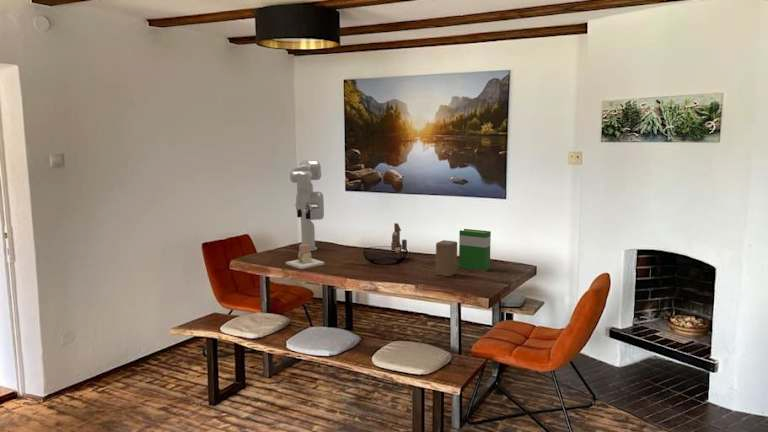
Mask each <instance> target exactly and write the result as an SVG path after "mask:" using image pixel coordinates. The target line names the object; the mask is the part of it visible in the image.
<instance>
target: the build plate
mask: <svg viewBox="0 0 768 432" xmlns="http://www.w3.org/2000/svg"><path fill="white" fill-rule="evenodd" d="M311 261H312V262H307V263H302V262H299V259H295V260H289V261H285V265H288V266H291V267H293V268H297V269H300V270H303V269H308V268H314V267H318V266H324V265H325V261H323V260H319V259H315V258H312V257H311Z"/></svg>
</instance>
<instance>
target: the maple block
mask: <svg viewBox="0 0 768 432" xmlns="http://www.w3.org/2000/svg"><path fill="white" fill-rule="evenodd" d="M297 254H298V255H297V256H298V260H299V262H302V263H307V262H312V261H311V258H312V252H311V251H310V253H306V254H303V253H299V252H298V253H297Z"/></svg>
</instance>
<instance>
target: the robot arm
mask: <svg viewBox="0 0 768 432" xmlns="http://www.w3.org/2000/svg"><path fill="white" fill-rule="evenodd" d="M321 168H322V167H321V163H320V162H319V160H302V161H301V162H300V163H299V164H298V166H296V167H294V168H291V171H290V173H289V179H290V182H291V183H293V184H296V199H295V205H294V206H295V209H296V214H297V215H296V217H297V218H300V225H301V226H300V227H301V243H300V244H299V245H303V244H307V245H310V252H311V251H312V252H313V251H317V250H318V247H317V246H316V243H315V242H316V239H315V237H316V234H315V224H314V222H312V221H315V220H319V221H320V220H323V219H324V218H325V203H324V194H323V192H321V191H314V185H313V183H312V181H318V180H320V179H321V178H322V169H321Z"/></svg>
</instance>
